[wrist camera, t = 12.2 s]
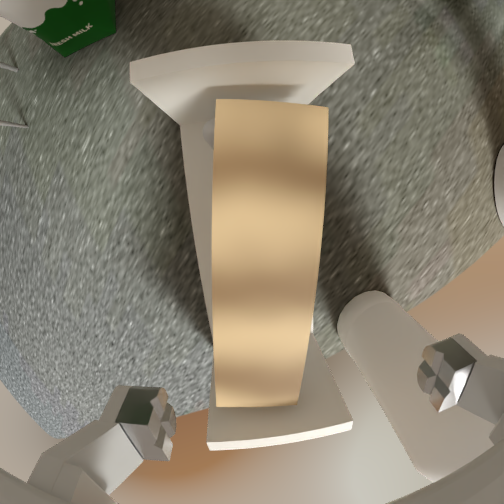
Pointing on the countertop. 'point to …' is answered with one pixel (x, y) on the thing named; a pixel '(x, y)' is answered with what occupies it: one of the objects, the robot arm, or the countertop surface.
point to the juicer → (6, 121)
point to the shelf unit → (200, 199)
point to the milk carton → (63, 21)
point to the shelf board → (265, 246)
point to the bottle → (408, 386)
